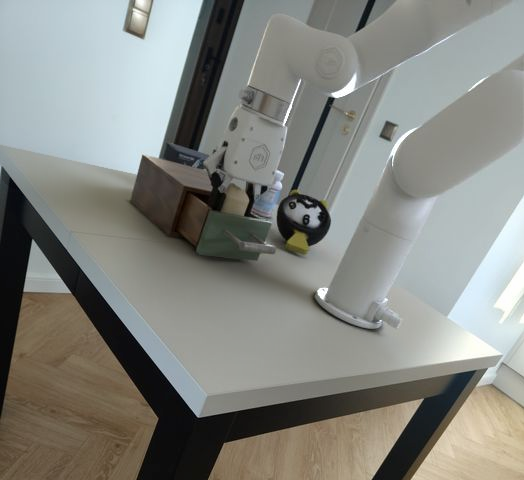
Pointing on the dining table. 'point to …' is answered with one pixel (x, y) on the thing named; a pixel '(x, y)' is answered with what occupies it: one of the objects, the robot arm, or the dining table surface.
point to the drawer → (222, 230)
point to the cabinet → (166, 190)
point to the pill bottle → (268, 198)
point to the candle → (235, 200)
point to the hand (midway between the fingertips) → (227, 214)
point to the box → (184, 156)
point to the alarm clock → (302, 221)
